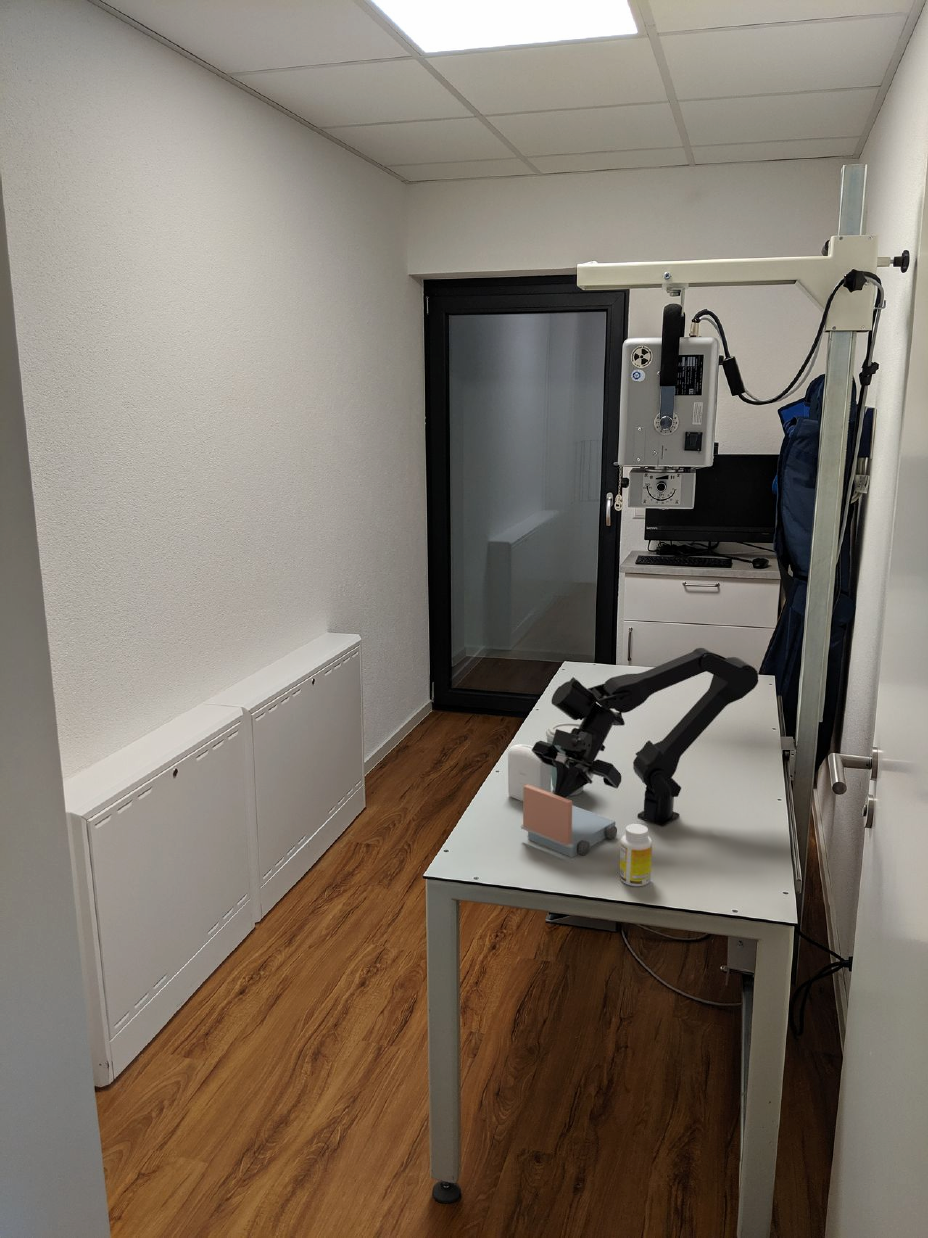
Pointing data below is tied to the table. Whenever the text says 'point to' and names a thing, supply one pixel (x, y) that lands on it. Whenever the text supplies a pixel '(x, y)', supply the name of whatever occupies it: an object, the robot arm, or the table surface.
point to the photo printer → (526, 771)
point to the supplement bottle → (636, 856)
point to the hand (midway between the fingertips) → (556, 801)
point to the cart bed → (582, 832)
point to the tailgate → (547, 815)
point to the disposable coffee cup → (550, 735)
